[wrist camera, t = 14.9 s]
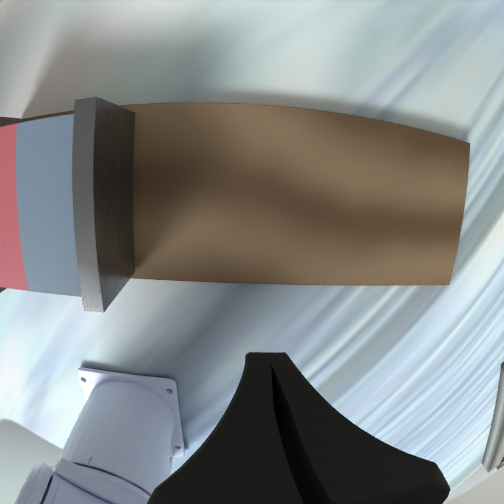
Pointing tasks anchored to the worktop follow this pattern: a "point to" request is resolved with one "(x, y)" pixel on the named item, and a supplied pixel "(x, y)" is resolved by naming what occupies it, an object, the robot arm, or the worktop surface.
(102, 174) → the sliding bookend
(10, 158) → the red rectangular block
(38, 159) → the slate book
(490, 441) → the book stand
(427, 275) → the book shelf
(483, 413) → the worktop surface
